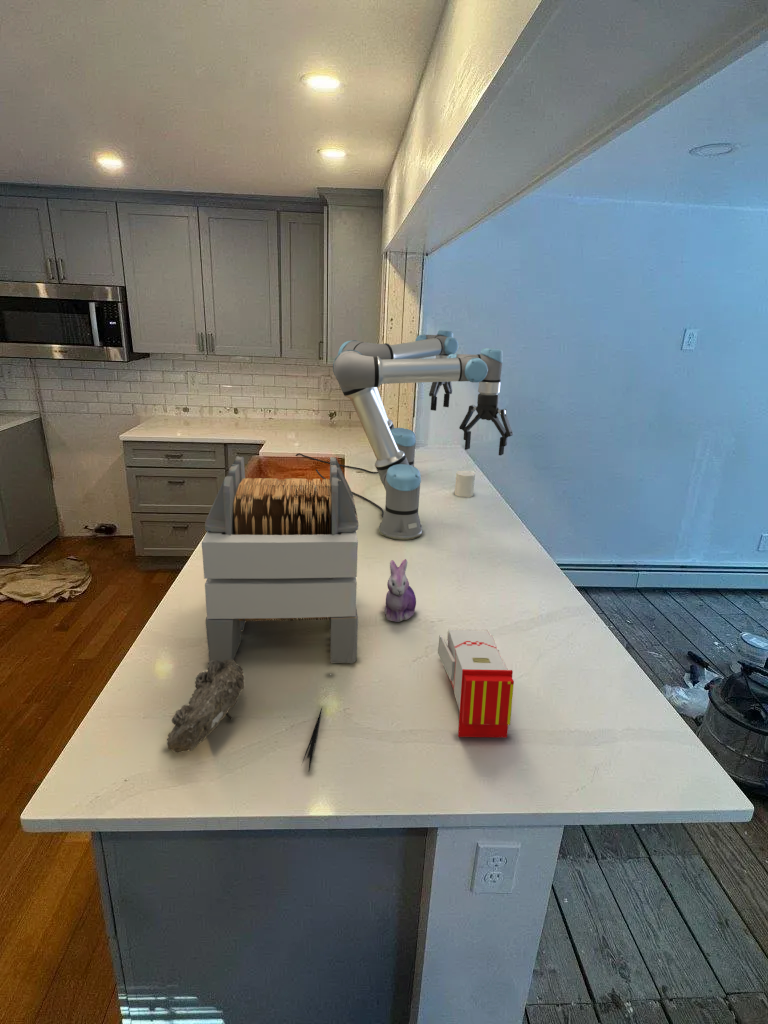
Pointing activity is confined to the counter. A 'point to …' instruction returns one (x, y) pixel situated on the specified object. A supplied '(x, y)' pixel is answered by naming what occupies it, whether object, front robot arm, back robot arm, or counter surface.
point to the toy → (478, 682)
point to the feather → (313, 740)
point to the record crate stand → (281, 558)
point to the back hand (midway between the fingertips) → (439, 408)
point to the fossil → (206, 705)
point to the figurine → (399, 594)
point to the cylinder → (464, 483)
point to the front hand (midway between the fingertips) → (483, 451)
